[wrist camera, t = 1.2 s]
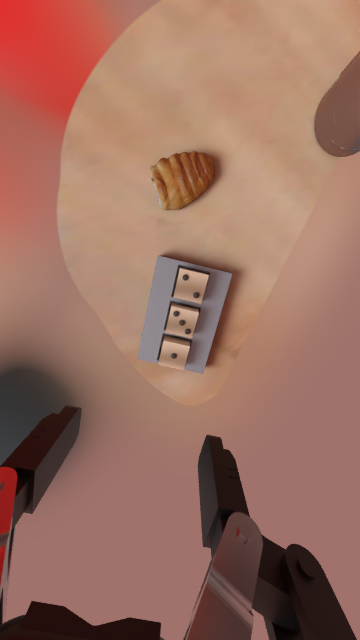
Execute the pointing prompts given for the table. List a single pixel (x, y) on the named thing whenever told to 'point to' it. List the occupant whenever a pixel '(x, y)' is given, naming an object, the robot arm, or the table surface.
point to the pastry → (182, 178)
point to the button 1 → (174, 352)
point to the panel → (164, 298)
